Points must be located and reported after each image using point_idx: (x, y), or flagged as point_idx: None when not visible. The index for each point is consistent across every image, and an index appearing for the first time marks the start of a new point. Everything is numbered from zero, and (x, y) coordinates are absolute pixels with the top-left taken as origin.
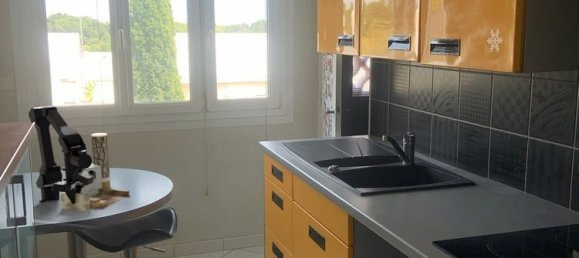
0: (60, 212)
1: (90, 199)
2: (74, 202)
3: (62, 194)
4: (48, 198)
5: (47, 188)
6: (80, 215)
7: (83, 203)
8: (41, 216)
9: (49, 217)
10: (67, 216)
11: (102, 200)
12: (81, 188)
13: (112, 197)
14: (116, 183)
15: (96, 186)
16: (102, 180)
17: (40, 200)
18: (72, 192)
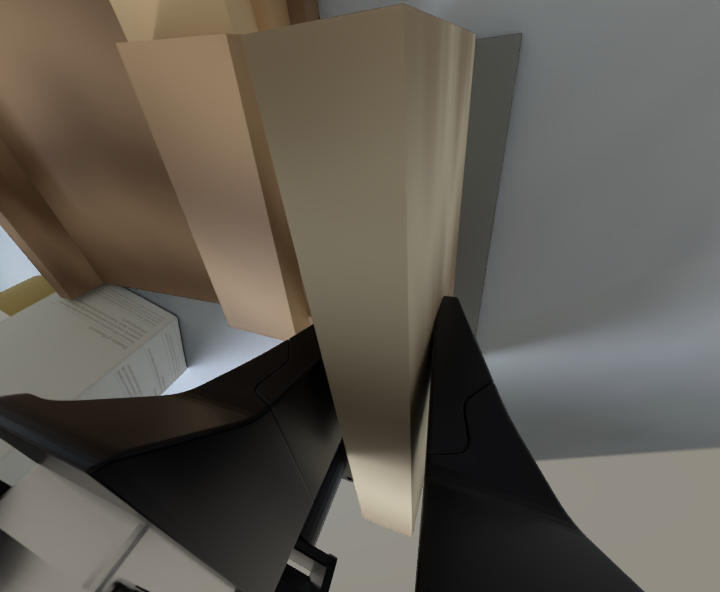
0: (499, 354)
1: (238, 175)
2: (456, 305)
3: (417, 503)
4: (334, 469)
5: (306, 537)
6: (605, 76)
7: (451, 139)
8: (638, 443)
9: (685, 390)
10: (656, 238)
11: (125, 21)
12: (196, 404)
13: (41, 131)
14: (9, 286)
15: (67, 323)
16: None
17: (347, 478)
18: (570, 524)
